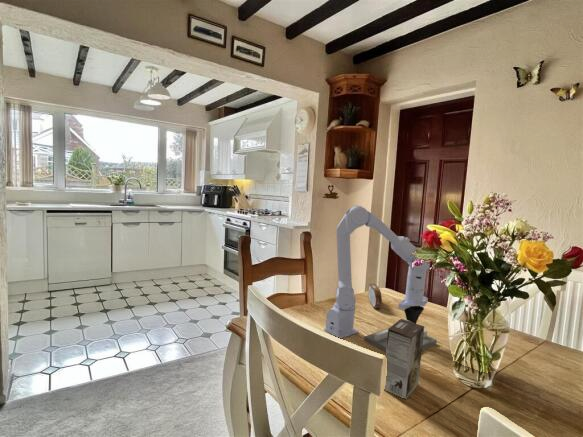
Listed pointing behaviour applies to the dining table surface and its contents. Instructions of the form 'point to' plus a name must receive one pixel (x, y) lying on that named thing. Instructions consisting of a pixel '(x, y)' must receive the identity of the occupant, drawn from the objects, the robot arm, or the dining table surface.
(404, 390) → the coffee box
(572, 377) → the dining table surface
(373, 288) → the clock
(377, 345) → the switch plate
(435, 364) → the dining table surface
